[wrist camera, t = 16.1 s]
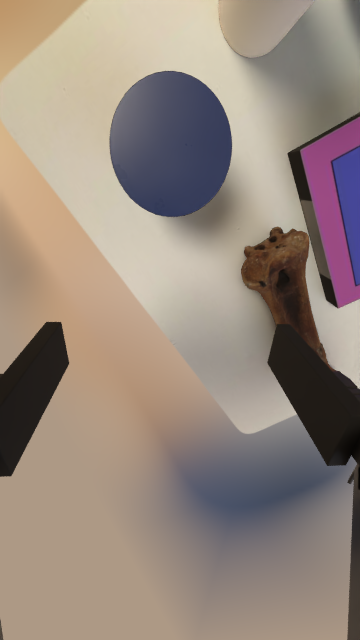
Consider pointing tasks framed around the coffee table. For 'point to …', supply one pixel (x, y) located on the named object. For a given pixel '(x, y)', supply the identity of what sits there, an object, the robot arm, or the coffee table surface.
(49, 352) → the robot arm
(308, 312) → the bone
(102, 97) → the coffee table surface
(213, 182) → the jar lid
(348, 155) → the book
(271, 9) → the cylindrical container
